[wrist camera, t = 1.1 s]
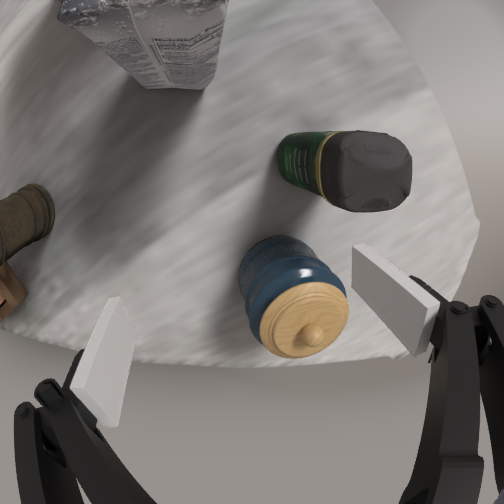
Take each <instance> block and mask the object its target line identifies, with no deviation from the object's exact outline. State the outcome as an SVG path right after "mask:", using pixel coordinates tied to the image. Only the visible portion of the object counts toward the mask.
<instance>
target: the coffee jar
mask: <svg viewBox="0 0 504 504" xmlns="http://www.w3.org/2000/svg"><path fill="white" fill-rule="evenodd" d="M278 161H279V169H280V173H281V175H282V177H283V178H284V179H285V180H286V181H287V182H289V183H291V184H293V185H296V186H298V187H301V188H303V189H306V190H308V191H311V192H313V193H315V194H317V195H320V196H322V197H323V198H324V199H325V200H326V201H327V202H329V203H330V204H332V205H334V206H336V207H339V208H342V209H344V210H347V211H350V212H379V211H385V210H391V209H394V208H396V207H397V206H399V205H400V204H401V203H402V202H403V201H404V200H405V199H406V198H407V196H409V194H410V189H411V181H412V157H411V155H410V153H409V151H408V149H407V148H406V146H405V145H404V144H403V143H402V142H401V141H400V140H398V139H397V138H395V137H392V136H389V135H388V134H387V133H378V132H369V131H360V130H356V131H326V132H303V133H294V134H290V135H288V136H286V137H285V138H284V139H283V140H282V141H281V143H280V146H279V153H278Z"/></svg>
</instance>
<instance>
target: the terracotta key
mask: <svg viewBox="0 0 504 504" xmlns="http://www.w3.org/2000/svg"><path fill="white" fill-rule="evenodd" d="M4 300H5V298H4V296H3V295H2V293H1V292H0V305H1V304H2V302H3V301H4Z"/></svg>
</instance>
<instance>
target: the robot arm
mask: <svg viewBox="0 0 504 504" xmlns="http://www.w3.org/2000/svg"><path fill="white" fill-rule="evenodd" d="M63 1H64V0H60V2H61V3H63ZM352 288H353V289H354V290H355V291H356V292H357V294H358V295H359V296H360V297H361V298H362V299H363V300H364V301H365V302H366V303H367V304H368V305H369V307H370V308H371V309H372V310H373V311H374V312H375V313H376V314H377V315H378V317H379V318H380V319H381V320H382V321H383V322H384V323H385V324H386V325H387V327H388V328H389V329H390V330H391V331H392V332H393V333H394V335H395V336H396V337H397V338H398V339H399V340H400V341H401V343H402V344H403V345H404V346H405V347H406V348H407V350H408V351H409V352H410V353H411V354H412V355H413V357H416V356H418V355H420V354H421V353H423V352H425V351H426V350H427V347H428V344H429V341H430V342H431V343H432V344H433V345H434V347H433V350H432V353H431V355H430V358H429V361H428V363H430V362H431V359H432V362H431V375H430V385H429V394H428V401H427V408H426V415H425V421H424V426H423V431H422V436H421V441H420V445H419V449H418V454H417V458H416V461H415V465H414V469H413V472H412V476H411V479H410V481H409V483H408V485H407V487H406V489H405V490H404V492H403V494H402V496H401V499H400V501H399V504H477V501H478V497H479V493H480V488H481V482H482V476H483V470H484V460H483V457H480V456H478V441H479V427H480V393H481V397H482V401H483V405H484V409H485V414H486V418H487V423H488V429H489V434H490V440H491V447H492V454H493V462H494V472H495V480H496V484H497V489H498V492H499V496H498V499H496V501H494V503H493V504H504V305H503V304H502V302H501V301H500V300H499V299H498V298H496V297H495V296H492V295H485V296H483V297H482V298H481V300H480V303H479V306H474V307H469V306H468V305H466V304H464V303H463V302H459V301H452V302H449V301H447V300H446V299H445V298H444V297H442V296H441V295H440V294H439V293H437V292H436V291H435V290H434V289H432V288H431V287H430V286H429V285H427V284H426V283H425V282H423V281H422V280H421V279H419V278H417V277H414V276H412V275H411V276H407V275H406V274H404V273H403V272H402V271H400V270H399V269H398V268H396V267H395V266H394V265H392V264H391V263H390V262H388V261H387V260H386V259H384V258H383V257H382V256H380V255H379V254H378V253H376V252H375V251H374V250H372V249H371V248H369V247H368V246H367V245H365V244H364V243H362V244H357V245H353V246H352ZM137 337H138V333H137V331H136V329H135V327H134V325H133V322H132V320H131V318H130V316H129V314H128V312H127V309H126V307H125V305H124V302H123V300H122V298H121V296H117V297H111V298H109V299H108V301H107V303H106V305H105V307H104V309H103V311H102V313H101V315H100V317H99V319H98V321H97V324H96V326H95V328H94V330H93V332H92V334H91V337H90V339H89V341H88V343H87V346H86V348H85V349H81V350H80V351H79V353H78V354H77V355H76V356H75V358H74V360H73V363H72V366H71V367H70V370H69V372H68V374H67V377H66V380H65V382H64V384H63V387H62V388H61V387H60V386H59V384H58V383H57V382H56V381H55V379H51V378H50V379H45V380H43V381H42V382H41V383H39V384H38V386H37V387H36V389H35V392H34V397H35V398H36V399H37V400H38V402H39V403H40V404H41V405H42V406H43V407H40V408H35V407H34V406H33V405H32V404H31V403H30V402H23V403H21V404H20V405H19V406H18V407H17V409H16V410H15V414H14V448H15V463H16V473H17V480H18V488H19V494H20V499H21V504H84V502H83V499H82V496H81V493H80V490H79V487H78V483H77V480H78V482H79V483H80V485H81V487H82V488H83V490H84V492H85V494H86V495H87V497H88V499H89V500H90V502H91V503H92V504H157V503H156V502H155V501H154V500H153V499H152V498H151V497H150V496H149V495H148V494H147V493H146V491H145V490H144V489H143V488H142V487H141V485H140V484H139V483H138V482H137V481H136V480H135V478H134V477H133V476H132V475H131V473H130V472H129V471H128V470H127V469H126V467H125V466H124V465H123V463H122V462H121V461H120V459H119V458H118V457H117V455H116V454H115V452H114V451H113V450H112V448H111V447H110V445H109V444H108V442H107V441H106V439H105V438H104V436H103V435H102V433H101V432H100V430H98V428H96V423H97V420H98V421H99V422H100V423H101V424H102V425H103V426H104V427H119V421H120V415H121V409H122V404H123V399H124V394H125V388H126V383H127V378H128V374H129V370H130V366H131V361H132V357H133V353H134V349H135V345H136V341H137ZM490 338H491V340H492V344H491V342H490ZM76 478H77V480H76Z"/></svg>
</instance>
